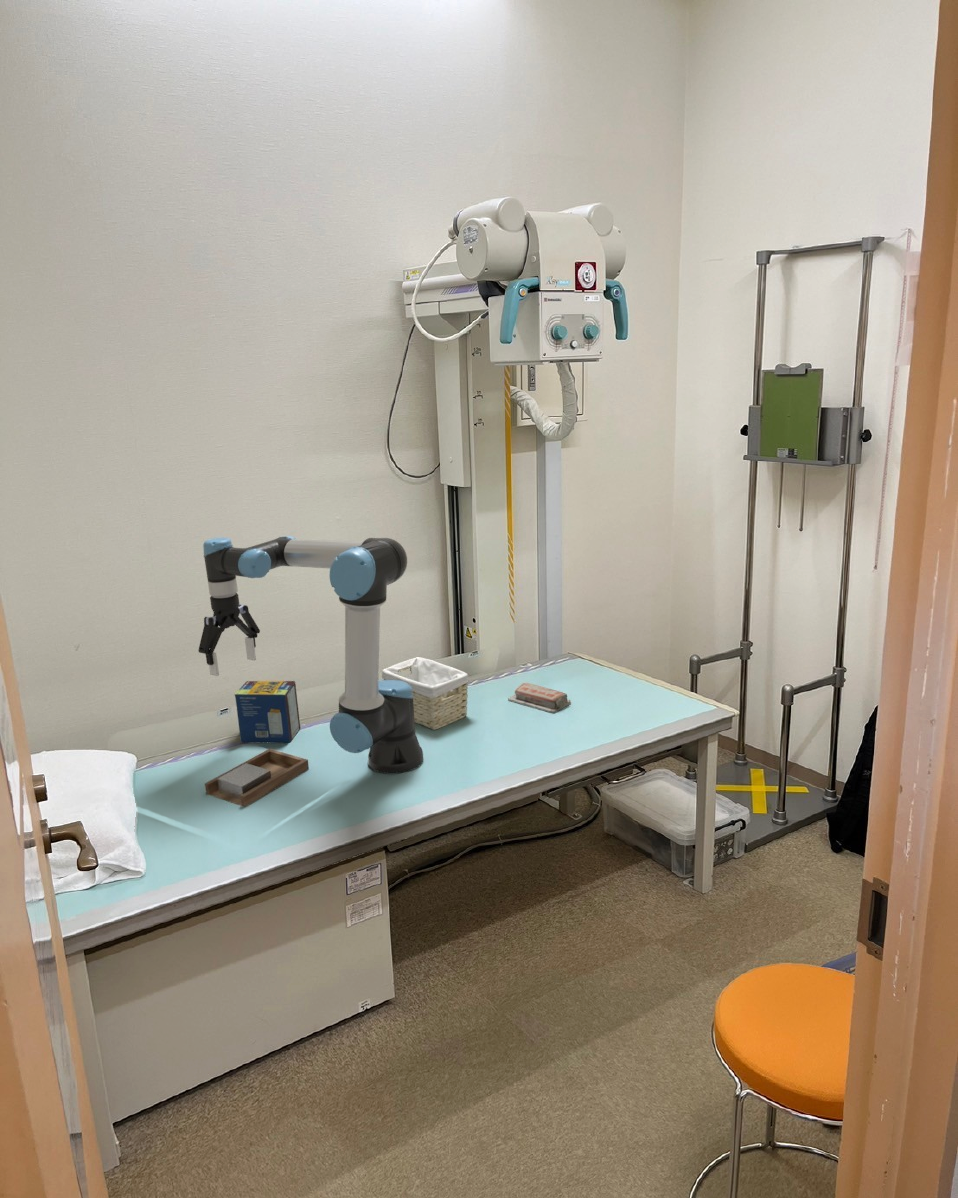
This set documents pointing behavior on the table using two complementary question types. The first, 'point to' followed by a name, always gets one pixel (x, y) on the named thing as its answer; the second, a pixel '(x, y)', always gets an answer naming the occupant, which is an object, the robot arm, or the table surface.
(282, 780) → the walnut box
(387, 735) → the robot arm
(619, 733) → the table surface
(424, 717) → the storage basket
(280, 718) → the protein box
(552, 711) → the packaged product
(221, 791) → the gray rectangular block
